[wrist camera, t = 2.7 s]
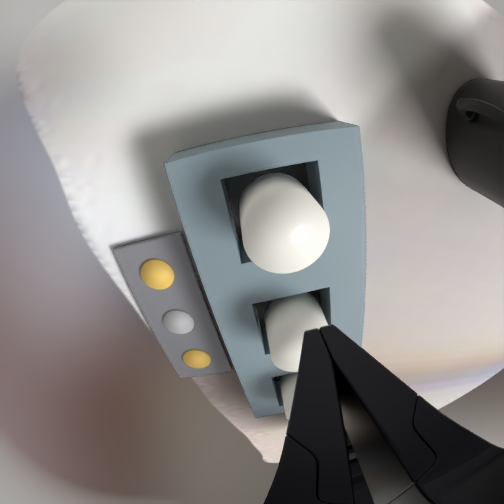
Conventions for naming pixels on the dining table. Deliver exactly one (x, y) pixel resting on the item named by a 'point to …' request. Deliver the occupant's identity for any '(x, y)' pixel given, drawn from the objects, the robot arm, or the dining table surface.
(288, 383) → the button
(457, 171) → the mug
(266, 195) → the button
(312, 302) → the button mid
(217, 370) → the card
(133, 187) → the dining table surface
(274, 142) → the button board
